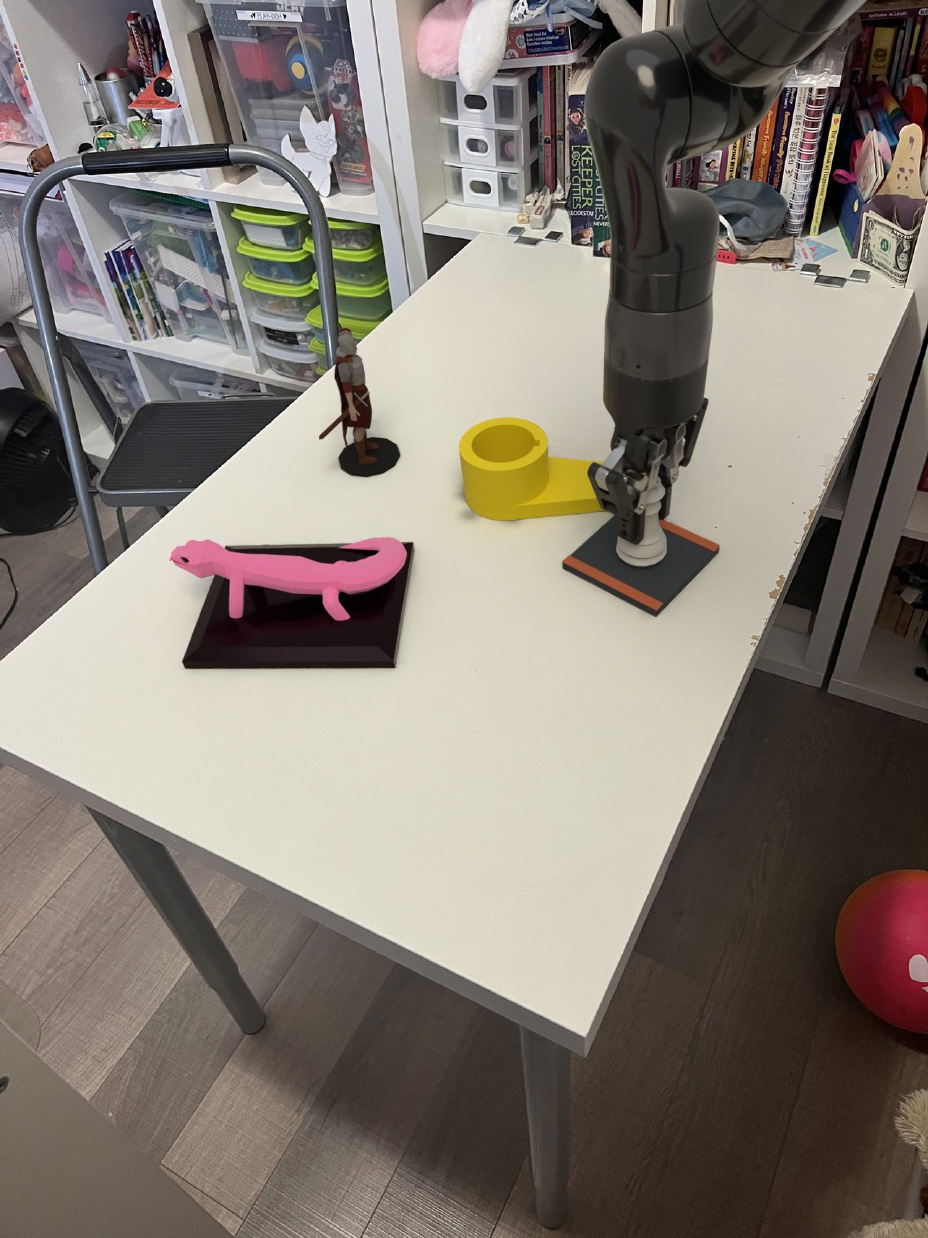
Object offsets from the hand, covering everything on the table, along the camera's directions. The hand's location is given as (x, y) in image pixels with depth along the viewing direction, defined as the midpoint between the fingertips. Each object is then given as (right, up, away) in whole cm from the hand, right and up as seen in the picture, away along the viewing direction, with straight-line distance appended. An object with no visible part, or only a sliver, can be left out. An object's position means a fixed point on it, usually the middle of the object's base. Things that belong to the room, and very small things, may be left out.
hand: (643, 526), depth 77 cm
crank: (-7, +4, +11) cm, 13 cm away
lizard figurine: (-30, -7, +3) cm, 32 cm away
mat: (0, -3, +3) cm, 4 cm away
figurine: (-26, +9, +18) cm, 33 cm away
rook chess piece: (0, -2, +2) cm, 3 cm away
